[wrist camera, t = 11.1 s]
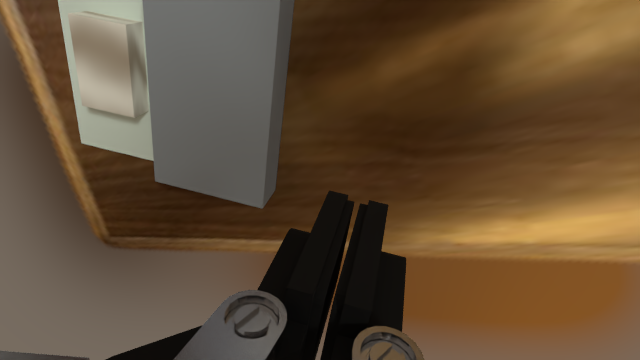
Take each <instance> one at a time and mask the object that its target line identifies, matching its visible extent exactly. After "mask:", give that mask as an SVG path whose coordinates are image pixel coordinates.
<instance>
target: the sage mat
mask: <svg viewBox="0 0 640 360" xmlns="http://www.w3.org/2000/svg"><path fill="white" fill-rule="evenodd" d="M58 4H59V10H60V16H61V22H62V28H63V34H64V41H65V47H66V53H67V59H68V65H69V71H70V77H71V83H72V89H73V95H74V101H75V107H76V113H77V119H78V125H79V131H80V137H81V143H83V144H87V145H91V146H95V147H99V148H103V149H107V150H111V151H115V152H119V153H123V154H127V155H131V156H135V157H139V158H143V159H147V160H151V161H154V158H153V144H152V129H151V115H150V101H149V87H148V73H147V58H146V44H145V30H144V16H143V1H142V0H58ZM83 11H90V12H95V13H100V14H105V15H110V16H115V17H120V18H125V19H130V20H135V21H141V22H143V35H144V49H145V63H146V76H147V90H148V104H149V111H147V112H145V113H143V114H141V115H139V116H137V117H135V118H133V117H129V116H125V115H120V114H116V113H112V112H107V111H103V110H99V109H94V108H90V107H86V106H82V101H81V95H80V89H79V82H78V76H77V69H76V63H75V57H74V50H73V44H72V38H71V31H70V25H69V18H68V13H74V12H83Z"/></svg>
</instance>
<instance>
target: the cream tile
mask: <svg viewBox="0 0 640 360" xmlns="http://www.w3.org/2000/svg"><path fill="white" fill-rule="evenodd" d="M68 18H69V25H70V31H71V38H72V44H73V50H74V57H75V63H76V69H77V76H78V82H79V89H80V95H81V101H82V106H86V107H90V108H94V109H99V110H103V111H107V112H112V113H116V114H120V115H125V116H129V117H133V118H135V117H137V116H139V115H141V114H143V113H145V112H147V111H149V104H148V90H147V76H146V63H145V49H144V35H143V22H141V21H135V20H130V19H125V18H120V17H115V16H110V15H105V14H100V13H95V12H90V11H83V12H74V13H68Z"/></svg>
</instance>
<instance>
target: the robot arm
mask: <svg viewBox="0 0 640 360" xmlns="http://www.w3.org/2000/svg"><path fill="white" fill-rule="evenodd" d="M353 206H354V202H353V201H349V200H348V195H345V194H341V193H337V192H333V191H329V192H328V194H327V196H326V199H325V201H324V203H323V206H322V208H321V210H320V212H319V215H318V217H317V219H316V222H315V224H314V226H313V228H312V231H311V233H309V232H305V231H301V230H297V229H293V228H291V229H290V230H289V231H288V233H287V235H286V237H285V239H284V240H283V242H282V244H281V246H280V248H279V250H278V252H277V254H276V256H275V258H274V260H273V261H272V263H271V265H270V267H269V269H268V271H267V273H266V275H265V276H264V278H263V281H262V282H261V284H260V286H259V288H258V290H247V291H242V292H238V293H236V294H234V295H232V296H230V297H229V298H227V299H226V300H225V301H224V302H223V303H222V304H221V305H220V306H219V307H218V308H217V310H216V311H215V312H214V313H213V314H212V315H211V317H210V318H209V319H208V320H207V321H206V322H205V323H204V325H202V326H199V327H196V328H194V329H191V330H188V331H185V332H182V333H179V334H176V335H173V336H170V337H167V338H165V339H162V340H159V341H156V342H153V343H150V344H147V345H144V346H141V347H138V348H135V349H133V350H130V351H127V352H124V353H121V354H118V355H115V356H112V357H110V358H108V359H106V360H315V358H316V354H317V351H318V347H319V344H320V340H321V337H322V333H323V330H324V326H325V322H326V319H327V315H328V312H329V308H330V305H331V301H332V298H333V294H334V291H335V287H336V283H337V279H338V275H339V271H340V266H341V261H342V257H343V252H344V248H345V243H346V239H347V234H348V229H349V225H350V220H351V216H352V211H353ZM387 210H388V205H387V204H383V203H378V202H374V201H370V200H369V203H368V205H365V204H361V203H360V206H359V210H358V214H357V217H356V221H355V224H354V228H353V232H352V235H351V239H350V242H349V246H348V250H347V253H346V257H345V260H344V264H343V268H342V271H341V275H340V278H339V282H338V286H337V289H336V293H335V297H334V301H333V305H332V310H331V314H330V318H329V323H328V327H327V332H326V337H325V341H324V346H323V350H322V355H321V360H424V358H423V355H422V352H421V350H420V349H419V348H418V346H417V344H416V343H415V342H414V341H413V340H412V339H411V338H409V337H408V336H407V335H406V334H404V333H402V321H403V306H404V289H405V273H406V258H405V257H401V256H397V255H394V254H390V253H386V252H382V251H381V249H382V242H383V236H384V229H385V223H386V216H387ZM0 360H90V359H89V358H85V357H72V356H59V355H47V354H34V353H20V352H8V351H0Z"/></svg>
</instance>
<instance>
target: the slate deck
mask: <svg viewBox="0 0 640 360" xmlns="http://www.w3.org/2000/svg"><path fill="white" fill-rule="evenodd" d="M142 1H143V16H144V30H145V44H146V58H147V73H148V87H149V101H150V115H151V129H152V144H153V158H154V172H155V181H156V182H160V183H164V184H168V185H172V186H176V187H180V188H184V189H187V190H191V191H195V192H199V193H203V194H207V195H211V196H215V197H219V198H223V199H227V200H231V201H235V202H239V203H242V204H246V205H250V206H254V207H258V208H262V209H263V207H264V206H265V204H266V203H267V201H268V200H269V199H270V197H271V196H272V194H273V193H274V191H275V188H276V178H277V169H278V159H279V149H280V139H281V129H282V119H283V109H284V99H285V89H286V79H287V69H288V59H289V49H290V39H291V30H292V20H293V10H294V0H142Z"/></svg>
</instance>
